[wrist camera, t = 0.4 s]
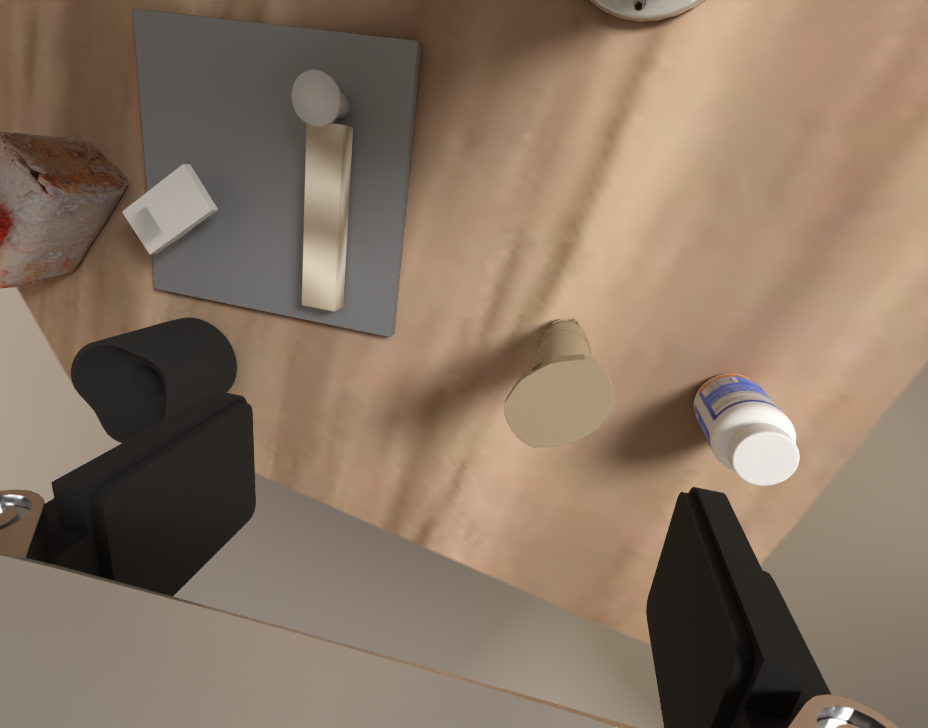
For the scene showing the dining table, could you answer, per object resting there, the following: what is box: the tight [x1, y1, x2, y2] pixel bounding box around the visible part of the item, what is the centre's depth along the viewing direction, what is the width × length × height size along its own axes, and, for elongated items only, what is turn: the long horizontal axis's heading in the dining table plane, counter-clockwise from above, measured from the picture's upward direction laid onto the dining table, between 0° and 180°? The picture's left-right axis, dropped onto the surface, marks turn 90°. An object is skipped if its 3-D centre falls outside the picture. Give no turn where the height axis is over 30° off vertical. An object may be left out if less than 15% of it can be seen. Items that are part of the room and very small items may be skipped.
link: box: [302, 123, 353, 311], centre depth 42 cm, size 15×3×2 cm, turn 172°
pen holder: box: [71, 318, 237, 443], centre depth 47 cm, size 9×9×10 cm
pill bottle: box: [693, 374, 800, 486], centre depth 38 cm, size 5×5×10 cm
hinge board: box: [122, 9, 422, 337], centre depth 42 cm, size 23×24×5 cm
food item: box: [0, 132, 129, 288], centre depth 45 cm, size 14×8×10 cm, turn 134°
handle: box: [504, 319, 615, 448], centre depth 36 cm, size 5×6×15 cm
